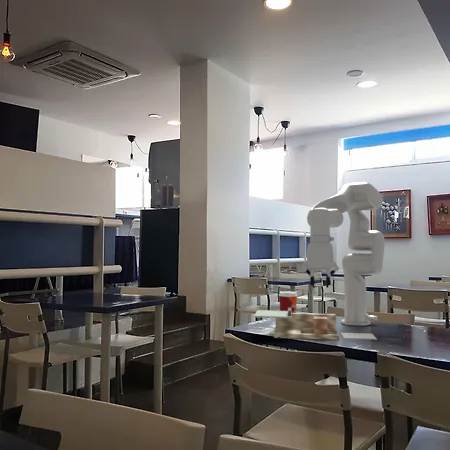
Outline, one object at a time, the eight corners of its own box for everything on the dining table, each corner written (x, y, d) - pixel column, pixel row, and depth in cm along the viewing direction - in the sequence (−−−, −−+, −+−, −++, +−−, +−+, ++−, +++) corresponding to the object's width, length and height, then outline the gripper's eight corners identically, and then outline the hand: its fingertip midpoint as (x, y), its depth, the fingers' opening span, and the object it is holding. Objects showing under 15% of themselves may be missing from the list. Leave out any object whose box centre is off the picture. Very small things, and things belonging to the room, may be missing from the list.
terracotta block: (326, 334, 183) (326, 316, 183) (327, 337, 178) (327, 319, 178) (313, 334, 184) (313, 316, 184) (314, 337, 179) (314, 318, 179)
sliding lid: (291, 312, 192) (291, 306, 192) (291, 318, 177) (291, 311, 177) (257, 311, 194) (257, 305, 194) (254, 317, 179) (254, 310, 179)
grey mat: (372, 335, 185) (372, 333, 185) (376, 340, 175) (376, 338, 175) (341, 334, 187) (341, 332, 187) (343, 339, 177) (343, 337, 177)
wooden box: (335, 332, 190) (335, 314, 190) (339, 340, 174) (339, 320, 174) (275, 330, 193) (275, 312, 194) (274, 338, 177) (274, 318, 178)
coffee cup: (297, 329, 197) (297, 293, 197) (277, 328, 198) (277, 293, 199) (298, 325, 205) (298, 291, 205) (279, 325, 206) (279, 291, 207)
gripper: (341, 240, 185) (341, 286, 184) (297, 240, 187) (297, 285, 187) (343, 240, 177) (343, 288, 177) (298, 240, 180) (298, 287, 179)
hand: (320, 286), depth 182 cm, fingers open, 4 cm apart
